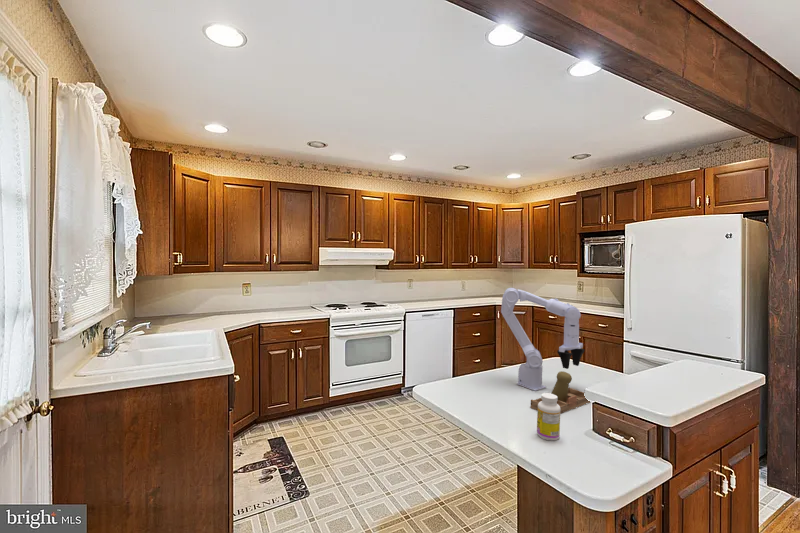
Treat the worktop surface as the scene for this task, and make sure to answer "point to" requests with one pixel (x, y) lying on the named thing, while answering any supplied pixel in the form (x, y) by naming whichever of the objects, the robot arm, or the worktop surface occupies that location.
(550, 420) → the supplement bottle
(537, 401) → the spice rack
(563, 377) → the olive bulbous cylinder
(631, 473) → the worktop surface
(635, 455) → the worktop surface
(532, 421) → the worktop surface
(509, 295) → the robot arm
